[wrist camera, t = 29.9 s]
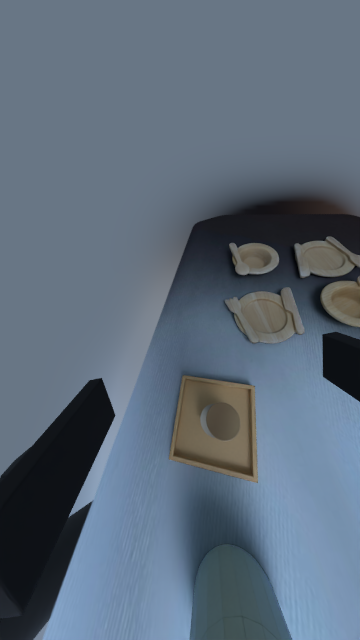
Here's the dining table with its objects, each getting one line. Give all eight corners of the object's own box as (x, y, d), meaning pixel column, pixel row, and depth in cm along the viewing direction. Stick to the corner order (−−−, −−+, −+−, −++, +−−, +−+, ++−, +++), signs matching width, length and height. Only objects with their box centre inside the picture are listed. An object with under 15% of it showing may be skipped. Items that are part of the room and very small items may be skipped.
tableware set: (232, 347, 37) (234, 340, 33) (214, 256, 51) (215, 245, 48) (419, 333, 33) (444, 323, 29) (341, 239, 47) (351, 225, 44)
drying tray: (171, 457, 29) (168, 459, 27) (183, 377, 35) (182, 374, 33) (254, 478, 26) (257, 483, 24) (252, 387, 32) (254, 385, 30)
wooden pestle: (199, 432, 29) (183, 455, 11) (202, 403, 31) (193, 379, 13) (227, 438, 28) (262, 476, 10) (228, 408, 30) (258, 389, 12)
